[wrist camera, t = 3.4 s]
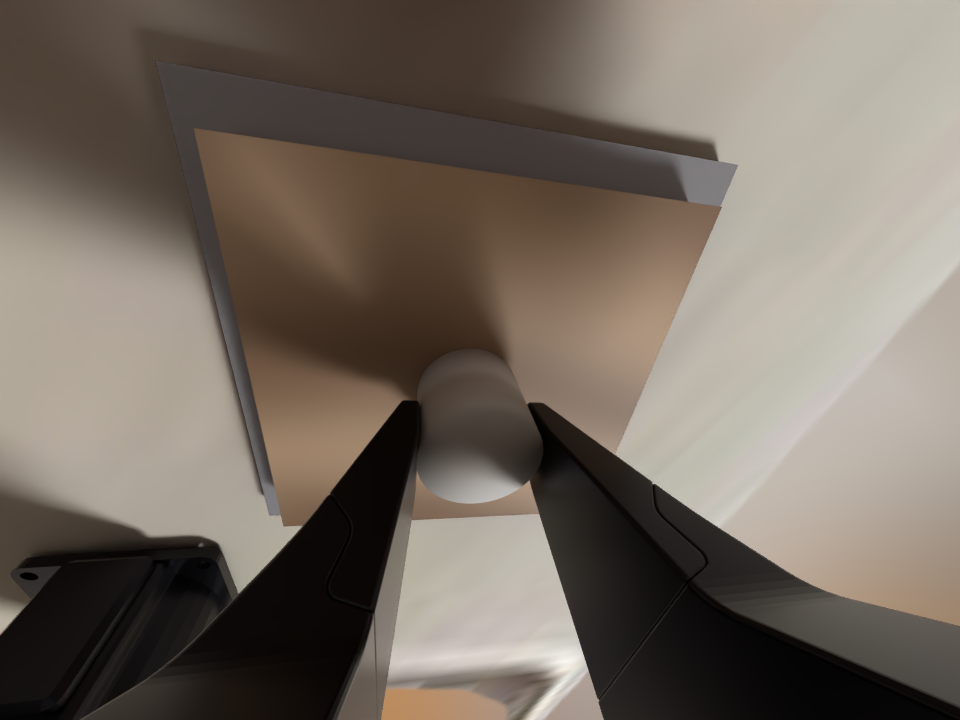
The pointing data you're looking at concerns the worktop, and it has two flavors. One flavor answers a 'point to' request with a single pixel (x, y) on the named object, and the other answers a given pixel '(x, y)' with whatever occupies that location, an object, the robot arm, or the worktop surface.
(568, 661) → the worktop surface
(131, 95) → the worktop surface
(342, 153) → the walnut lid
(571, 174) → the rubber mat
